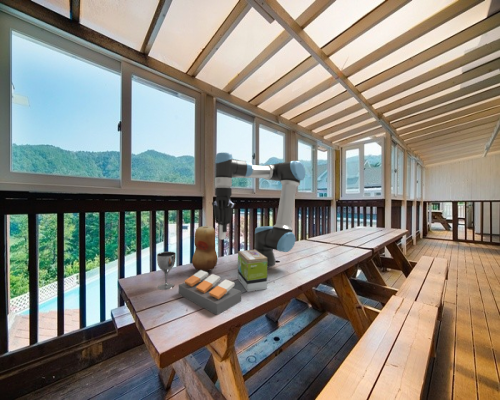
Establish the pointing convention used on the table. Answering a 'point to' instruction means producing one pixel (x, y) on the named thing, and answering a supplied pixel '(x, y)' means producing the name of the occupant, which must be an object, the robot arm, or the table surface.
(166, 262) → the wine glass
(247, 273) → the tea box
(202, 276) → the switch
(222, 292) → the switch
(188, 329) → the table surface
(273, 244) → the robot arm
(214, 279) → the switch middle
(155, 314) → the table surface
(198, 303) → the power strip
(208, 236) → the butternut squash
